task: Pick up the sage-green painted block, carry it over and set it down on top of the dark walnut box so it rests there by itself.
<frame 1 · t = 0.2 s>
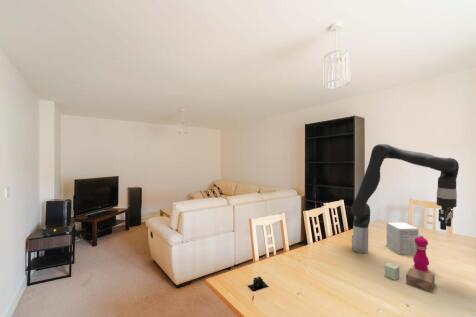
hand: (445, 227, 115), 29 cm above the table, fingers open, 8 cm apart
black irregular piece: (258, 287, 114), on the table
walnut box: (420, 284, 115), on the table
green block: (391, 276, 122), on the table
supplement box: (401, 250, 154), on the table
pepper mill: (420, 269, 130), on the table
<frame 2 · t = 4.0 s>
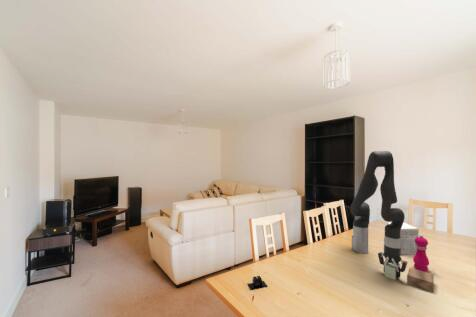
hand: (391, 275, 122), 1 cm above the table, fingers closed on green block, 5 cm apart
green block: (391, 276, 122), on the table, touching gripper
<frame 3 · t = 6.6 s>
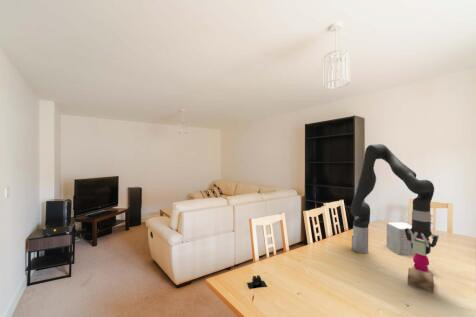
hand: (420, 251, 115), 17 cm above the table, fingers closed on green block, 5 cm apart
green block: (420, 252, 115), point 16 cm above the table, touching gripper
when the fingers open (7 cm above the table, at t = 9.2 s): green block drops 1 cm, point 5 cm above the table.
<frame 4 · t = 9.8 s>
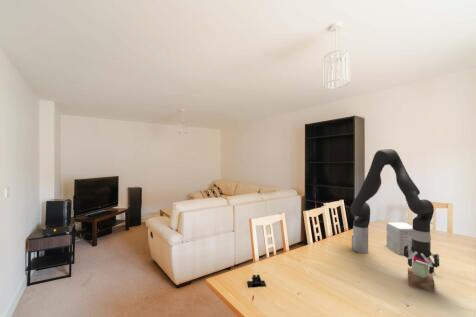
hand: (420, 269, 115), 7 cm above the table, fingers open, 8 cm apart
green block: (420, 274, 115), point 5 cm above the table
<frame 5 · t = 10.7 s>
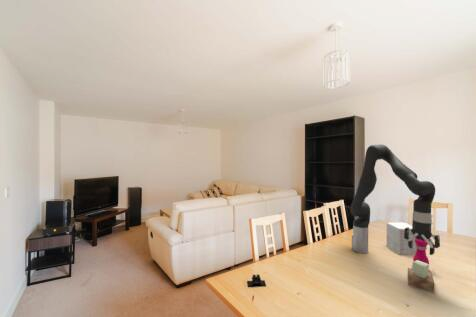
hand: (420, 251, 115), 17 cm above the table, fingers open, 8 cm apart
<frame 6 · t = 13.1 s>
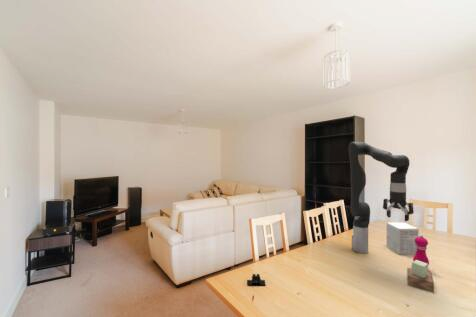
hand: (397, 219, 126), 30 cm above the table, fingers open, 8 cm apart
walnut box: (419, 284, 115), on the table, touching green block
green block: (420, 274, 115), point 5 cm above the table, touching walnut box
at the end: green block inside the target area on the walnut box (0.1 cm from its centre), point 5.0 cm above the walnut box's base; green block tilted 0°; the gripper is holding nothing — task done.
